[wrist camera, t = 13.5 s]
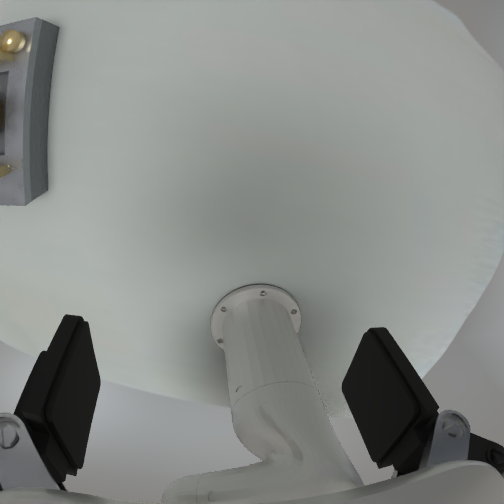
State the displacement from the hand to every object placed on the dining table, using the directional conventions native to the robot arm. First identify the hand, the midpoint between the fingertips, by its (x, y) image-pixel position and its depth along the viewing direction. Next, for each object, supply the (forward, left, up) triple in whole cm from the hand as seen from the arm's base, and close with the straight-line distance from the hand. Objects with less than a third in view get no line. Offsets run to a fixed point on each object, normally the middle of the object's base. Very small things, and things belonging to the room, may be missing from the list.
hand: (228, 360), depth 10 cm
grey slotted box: (+7, +27, -28) cm, 40 cm away
